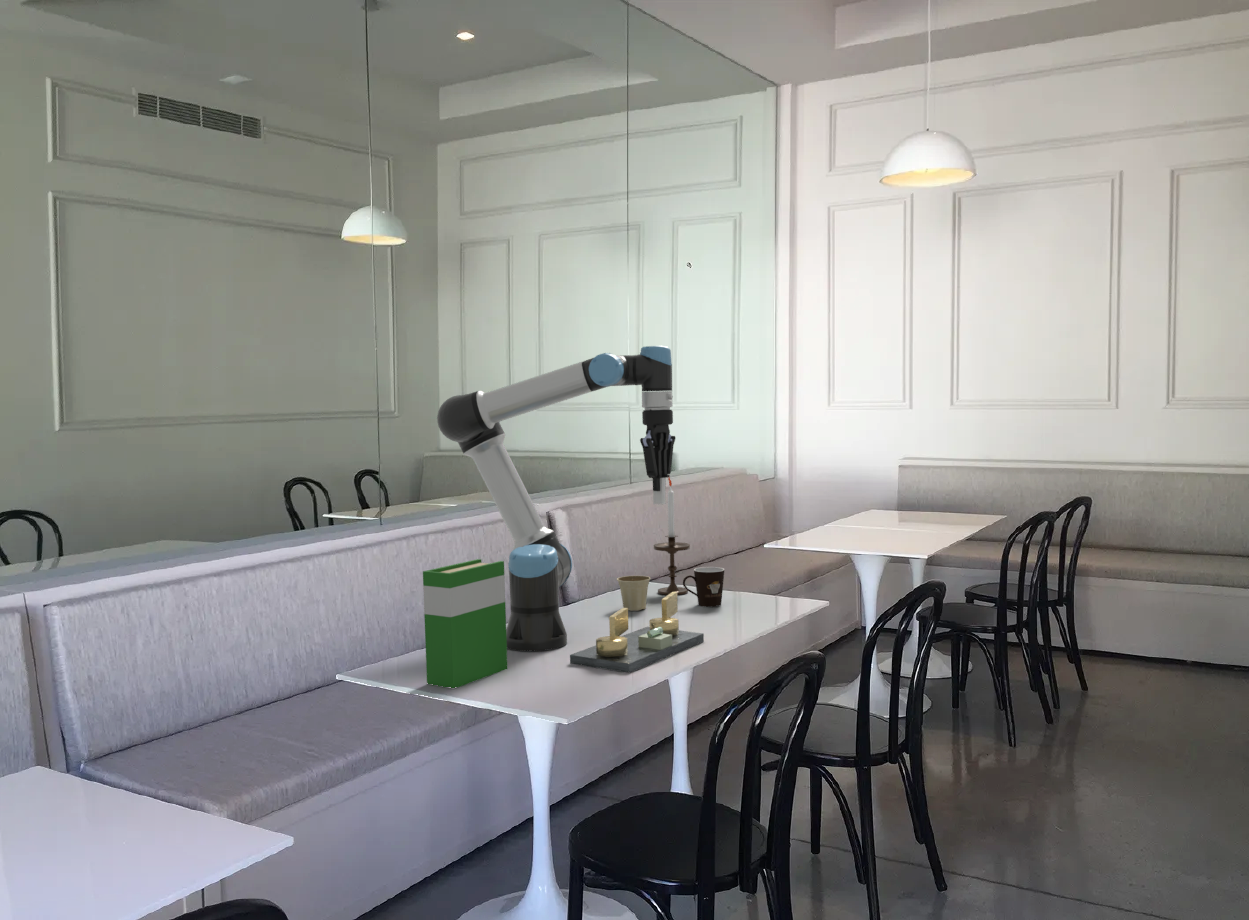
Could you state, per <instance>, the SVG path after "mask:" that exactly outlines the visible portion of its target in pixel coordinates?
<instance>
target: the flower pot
mask: <svg viewBox="0 0 1249 920" xmlns="http://www.w3.org/2000/svg"><path fill="white" fill-rule="evenodd" d="M650 580H651V577H650V576H646V575H625V576H620V577H617V578H616V581H617V582H618V586H619V588H620V590H619V591H620V593H621V594H620V595H621V600H622V608H628V612H629V611H630V612H632V611H633V612H635V611H636V612H637V611H641V610H645V609H646V608H647V598H648V589H649V584H650Z"/></svg>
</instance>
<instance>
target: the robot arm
mask: <svg viewBox="0 0 1249 920" xmlns="http://www.w3.org/2000/svg"><path fill="white" fill-rule="evenodd" d="M672 363H673V362H672V351H671V348H670V347H669V346H667V345H649V346H648V345H647V346H642V347H641V348H640V352H639V354H633V355H631V354H629V355H628V354H627V355H621V354H620V355H618V354H617V355H616V354H613V353H611V352H603V353H600V354H597V355H595V356H594V357H591V358H589V359H586V360H583V361H579V362H577V363H573V364H570V365H567V366H564V367H562V368H557V369H555V370H552V371H549V372H547V373H545V372H544V373H542V374H539V375H537V376H534V377H530V378H527V379H524V380H522V381H518V382H516V383H512V384H509V385H506V386H504V387H500V388H496V389H494V390H493V389H492V390H491V391H488V392H484V391H483V390H476V391H474V392H473V391H472V392H470V393H466V394H461V395H460V394H457V395H454V396H451V397H449V398H447V399H446V400H445V401H443V403H441V405H440V407H439V408H438V412H437V416H436V417H437V418H436V419H437V421H436V422H437V426H438V428H439V431H440V432H441V434H442V435H444V437H445V438H447V439H448V440H449V441H453V442H455V443H458V445H459V447H460V450H461V452H462V453H463V455H464V456H466V457H470V458H471V459H472V460H473V462H474V463H475V464H474V465H476V468H477V470H478V471H479V474H480V477H481V478H482V480H483V482H484V484H485V486H486V487H487V490H488V492H489V494H490V496H491V499H492V500H493V502H494V503H495V506H496V508H497V510H498V512H499V514H500V515H501V518H502V520H503V522H504V524H505V526H506V528H507V529H508V532H509V534H510V535H511V538H512V540H513V542H514V545H513V548H512V550H511V551H510V553H509V557H508V558H509V559H508V563H507V564H508V574H509V576H508V577H509V600H510V603H509V604H510V605H509V606H510V613H509V614H510V615H509V619H508V621H507V624H506V637H507V650H508V649H509V650H510V651H511V650H513V651H520V652H542V651H550V650H555V649H559V648H562V647H564V646H566V645H567V644H568V634H567V633H568V632H567V631H566V628H565V627H566V626H564V625H565V624H564V622H563V619H562V617H561V614H560V607H559V605H560V603H559V601H560V600H559V599H560V598H559V587H560V588H561V587H562V586H563V585H564V584H565V583H566V582H567V581H568V579H569V577H570V575H571V573H572V569H573V560H572V556H571V554H570V552H569V550H568V549H567V547H566V546H565V545H563V544H562V543H560V541H559V539H558V537H557V534H556V533H555V531H554V530H553V529H550V528H548V527H546V526H545V524H544V522H543V520H542V518H541V516H540V514H539V512H538V510H537V509H536V507H535V504H534V503H533V500H532V498H531V496H530V495H529V493H528V490H527V488H526V486H525V484H524V482H523V480H522V479H521V477H520V475H519V473H518V470H517V469H516V467H515V465H514V463H513V461H512V458H511V457H510V454H509V452H508V451H507V448H506V446H505V445H504V440H505V436H506V434H505V432H504V429H503V427H502V425H501V423H500V422H503V421H506V420H509V419H512V418H516V417H517V416H521V415H524V414H527V413H530V412H534V411H536V410H540V409H542V408H546V407H549V406H551V405H555V404H558V403H561V402H564V401H567V400H570V399H574V398H577V397H580V396H582V395H585V394H588V393H592V392H596V391H599V390H602V389H604V388H608V387H618V386H619V387H620V386H623V387H625V386H641V407H642V408H643V409H644V410H642V411H641V413H642V415H641V416H642V418H641V419H642V425H644V426H646V431H645V436H644V437H641V438H640V439H639V441H640V442H639V443H640V445H641V447H642V451H643V452H642V453H643V457H644V463H645V471H646V476H648V478H649V479H652V493H653V495H652V499H653V500H652V502H653V505H663V506H664V505H667V502H666V501H667V497H666V494H667V493H666V492H667V491H666V488H667V486H666V485H667V483H666V478H669V476H671V472H672V464H673V463H672V462H673V455H674V445H675V442H676V436H675V435H671V434H670V433H671V430H670V425H672V424H673V423H674V415H673V414H674V413H673V412H674V411H673V409H671V408H672V407H673V397H674V396H673V364H672Z"/></svg>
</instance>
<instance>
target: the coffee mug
mask: <svg viewBox="0 0 1249 920" xmlns="http://www.w3.org/2000/svg"><path fill="white" fill-rule="evenodd" d="M693 574H694V575H692V574H691V575H687V576H685V577H684V578H683V579H682V585H683V588H686V589H687V590H688V593H691V594H692V595H694V596H696V598H697V603H698V606H699V607H704V608H716V607H720V606H722V600H723V589H724V580H725V579H724V577H725V568H723V567H719V566H717V567H716V566H702V567H696V568H694V569H693ZM689 578H692V579H693V581H694V582H695V589H696V590H695V591H696V592H694V591H692V590H691V589H690V588H688V587H687V585H686V581H687V580H688V579H689Z"/></svg>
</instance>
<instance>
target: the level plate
mask: <svg viewBox="0 0 1249 920" xmlns="http://www.w3.org/2000/svg"><path fill="white" fill-rule="evenodd" d="M662 633H663V628H662V627H658V628H655V629H652V630H650V627H649V626H646V627H643V628H640V629H637V630H635V631H632V632H629V633H626V634H624V635H623V634H622V635H621V636H622V637H625V638H627V645H628V653H627V654H625V655H622V656H616V657H605V656H599V655H597V654H596V645H592V646H590V647H587V648H584V649H583V650H579V651H577V652H574V653H571V654H569V664H571V665H576V666H583V667H590V668H596V669H602V670H610V671H616V672H623V673H629V674H630V673H632V672H634V671H637V670H640V669H641V668H642V669H643V668H644V667H646V666H649V665H652V664H653V663H656V662H658V661H661V660H663V659H665V658H668V657H670V656H673V655H675V654H677V653H680V652H682V651H685V650H687V649H689V648H692V647H695V646H698V645H699V644H702V643H704V641H705V640H704V639H705V638H704V637H705V636H704V633H702V632H695V631H687V630H679V633H678V634H677V635H673V636H672V635H669V634H662Z"/></svg>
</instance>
